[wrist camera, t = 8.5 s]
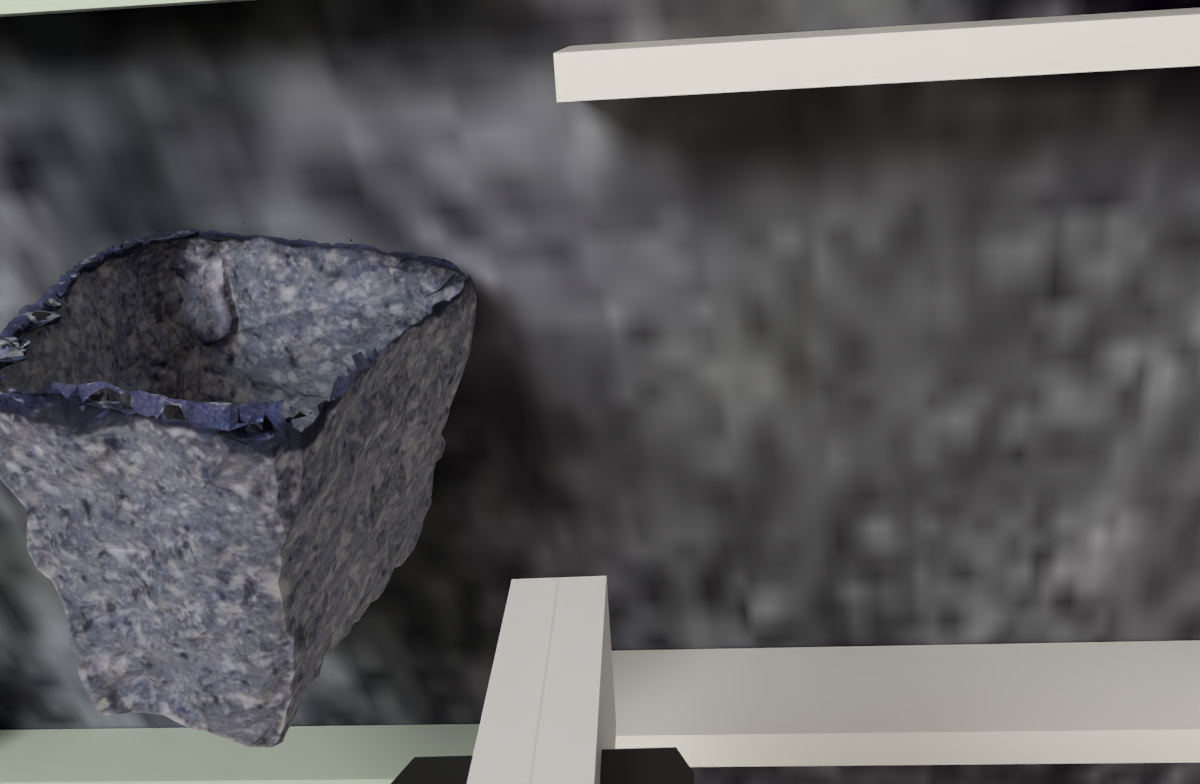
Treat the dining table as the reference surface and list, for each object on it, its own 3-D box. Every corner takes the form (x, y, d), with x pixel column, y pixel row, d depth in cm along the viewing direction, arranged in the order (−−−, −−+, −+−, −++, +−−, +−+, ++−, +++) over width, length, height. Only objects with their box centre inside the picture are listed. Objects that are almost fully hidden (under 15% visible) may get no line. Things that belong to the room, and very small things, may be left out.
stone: (210, 137, 30) (545, 209, 27) (246, 442, 35) (532, 531, 32) (-224, 309, 20) (224, 452, 17) (-87, 696, 25) (278, 858, 22)
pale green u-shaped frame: (-25, 756, 35) (-76, 810, 33) (-252, -9, 28) (-339, -11, 25) (567, 750, 34) (559, 806, 31) (499, -62, 26) (482, -68, 24)
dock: (611, 679, 33) (603, 767, 29) (569, 45, 27) (553, 52, 23) (1298, 669, 31) (1384, 760, 27) (1415, -6, 25) (1546, -7, 21)
